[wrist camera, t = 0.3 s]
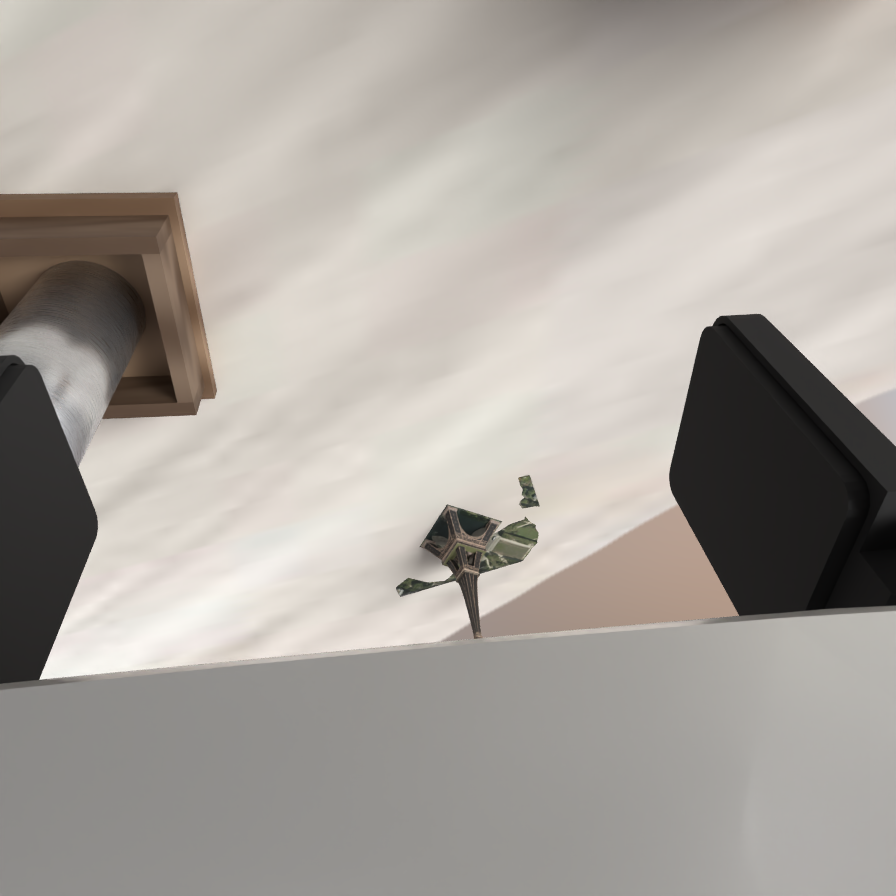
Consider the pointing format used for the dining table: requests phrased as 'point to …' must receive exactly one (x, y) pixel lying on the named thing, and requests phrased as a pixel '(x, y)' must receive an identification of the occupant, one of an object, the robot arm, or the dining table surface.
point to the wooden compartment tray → (141, 263)
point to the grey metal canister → (77, 341)
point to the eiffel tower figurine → (476, 548)
